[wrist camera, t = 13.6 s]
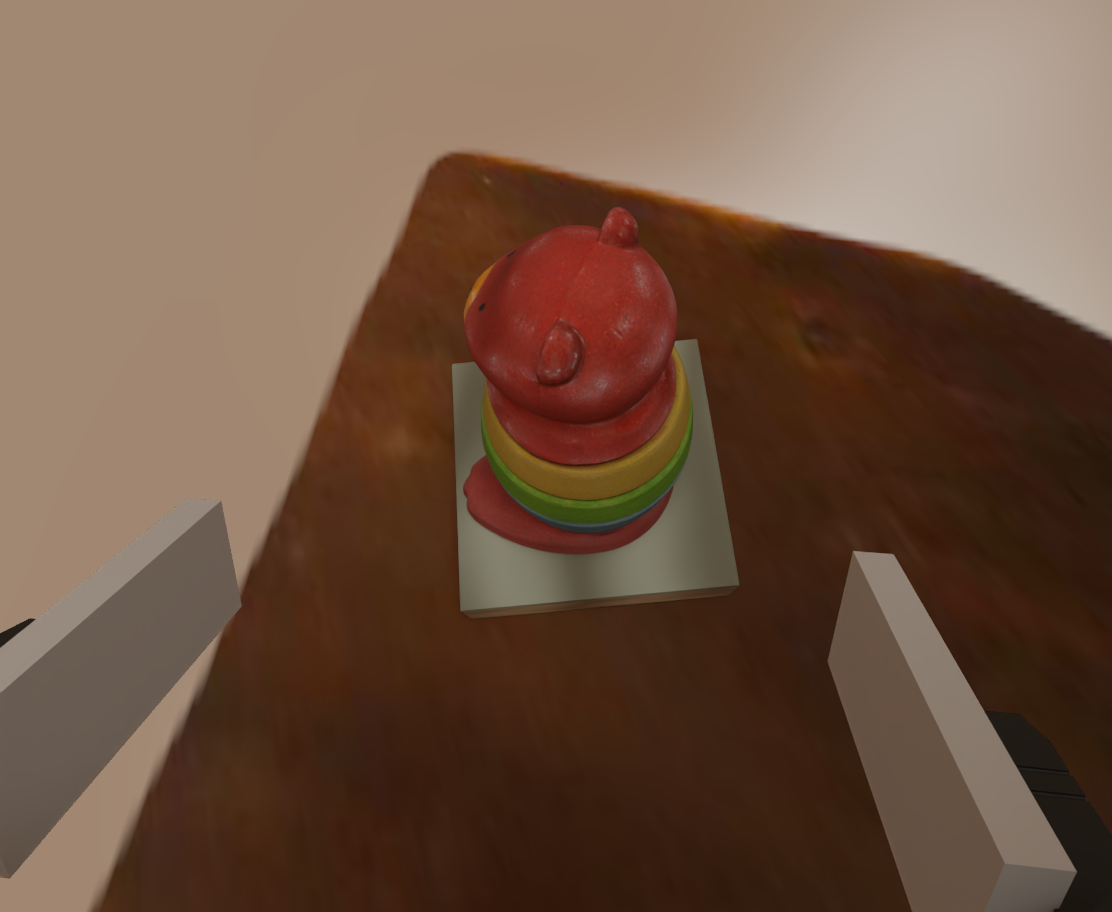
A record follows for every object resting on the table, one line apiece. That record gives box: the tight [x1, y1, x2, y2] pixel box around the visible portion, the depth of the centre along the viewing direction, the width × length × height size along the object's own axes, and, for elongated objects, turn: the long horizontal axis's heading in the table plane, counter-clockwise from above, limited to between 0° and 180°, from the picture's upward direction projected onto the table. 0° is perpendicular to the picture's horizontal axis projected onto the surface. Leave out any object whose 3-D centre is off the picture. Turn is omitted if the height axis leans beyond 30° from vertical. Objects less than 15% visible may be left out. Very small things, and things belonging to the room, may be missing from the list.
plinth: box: [452, 339, 739, 619], centre depth 40 cm, size 14×14×3 cm
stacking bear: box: [463, 207, 693, 554], centre depth 30 cm, size 11×10×18 cm
